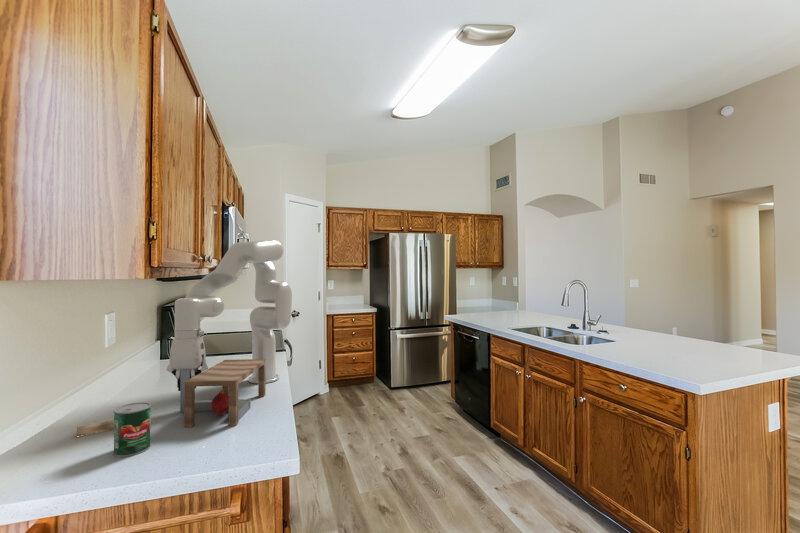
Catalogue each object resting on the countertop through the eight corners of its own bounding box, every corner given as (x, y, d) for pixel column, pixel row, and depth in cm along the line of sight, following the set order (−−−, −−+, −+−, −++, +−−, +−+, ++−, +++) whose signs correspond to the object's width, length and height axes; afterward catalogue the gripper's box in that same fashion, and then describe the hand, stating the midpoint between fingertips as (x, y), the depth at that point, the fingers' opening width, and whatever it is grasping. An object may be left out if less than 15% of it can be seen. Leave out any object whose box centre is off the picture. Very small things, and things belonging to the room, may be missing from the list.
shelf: (224, 395, 141) (225, 359, 141) (265, 395, 142) (265, 359, 142) (184, 427, 112) (184, 381, 112) (235, 425, 113) (235, 380, 113)
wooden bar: (136, 423, 116) (136, 415, 116) (137, 425, 114) (137, 417, 114) (76, 435, 107) (76, 427, 107) (76, 438, 105) (76, 430, 105)
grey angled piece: (184, 409, 127) (185, 355, 127) (251, 407, 128) (251, 354, 128) (165, 422, 116) (165, 363, 116) (238, 420, 117) (238, 362, 117)
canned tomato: (134, 441, 102) (135, 401, 103) (158, 444, 100) (158, 403, 101) (105, 455, 95) (105, 411, 95) (129, 458, 93) (130, 414, 93)
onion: (223, 419, 118) (223, 393, 118) (207, 418, 119) (207, 392, 119) (234, 412, 123) (234, 388, 124) (219, 411, 125) (219, 387, 125)
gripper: (217, 332, 130) (217, 385, 130) (168, 333, 129) (168, 386, 129) (207, 336, 123) (207, 392, 122) (155, 336, 122) (155, 393, 122)
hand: (187, 389), depth 126 cm, fingers closed on grey angled piece, 3 cm apart
